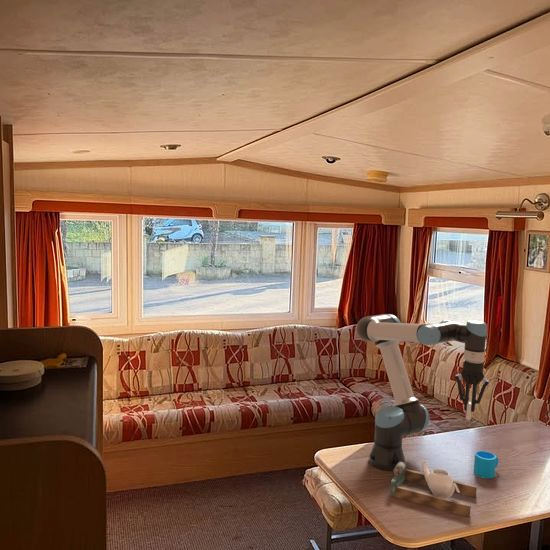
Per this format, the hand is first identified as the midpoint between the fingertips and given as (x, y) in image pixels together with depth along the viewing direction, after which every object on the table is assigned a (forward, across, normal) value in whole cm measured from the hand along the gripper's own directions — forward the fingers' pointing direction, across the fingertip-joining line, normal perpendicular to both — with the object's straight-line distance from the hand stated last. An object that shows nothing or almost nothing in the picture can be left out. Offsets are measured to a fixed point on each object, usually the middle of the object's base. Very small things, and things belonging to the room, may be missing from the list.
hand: (468, 418), depth 211 cm
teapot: (+27, -6, -16) cm, 32 cm away
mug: (+27, +7, +14) cm, 31 cm away
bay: (+27, -8, -17) cm, 33 cm away
